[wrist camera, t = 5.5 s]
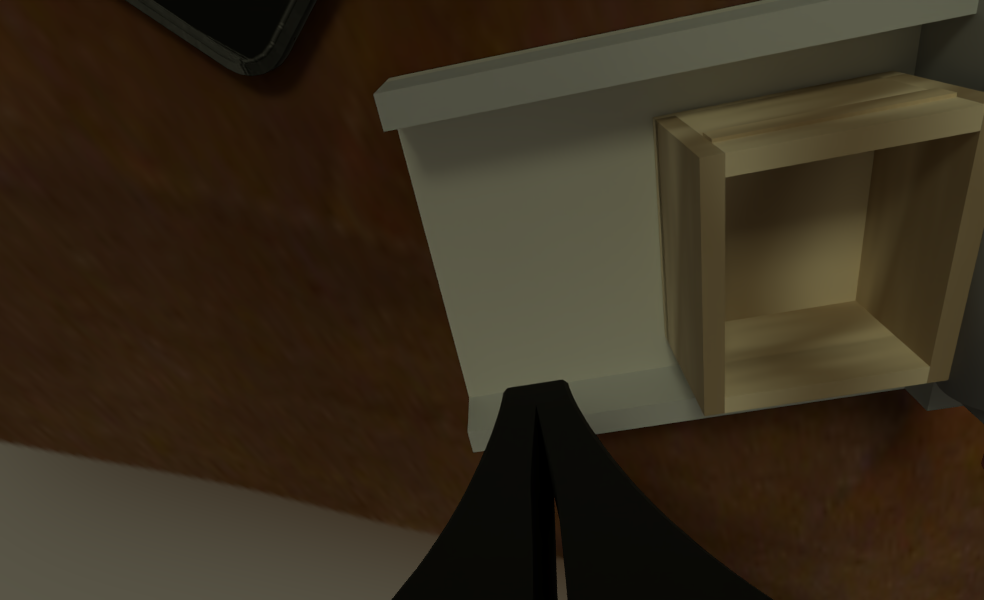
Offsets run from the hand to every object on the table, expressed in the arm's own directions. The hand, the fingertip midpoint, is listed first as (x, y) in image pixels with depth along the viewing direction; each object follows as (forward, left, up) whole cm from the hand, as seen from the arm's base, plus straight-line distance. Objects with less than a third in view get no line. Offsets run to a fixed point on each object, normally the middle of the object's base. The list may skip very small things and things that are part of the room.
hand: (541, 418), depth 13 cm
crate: (-8, 0, -8) cm, 12 cm away
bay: (-5, 0, -9) cm, 11 cm away
